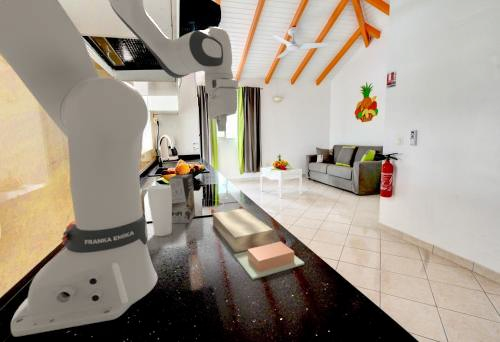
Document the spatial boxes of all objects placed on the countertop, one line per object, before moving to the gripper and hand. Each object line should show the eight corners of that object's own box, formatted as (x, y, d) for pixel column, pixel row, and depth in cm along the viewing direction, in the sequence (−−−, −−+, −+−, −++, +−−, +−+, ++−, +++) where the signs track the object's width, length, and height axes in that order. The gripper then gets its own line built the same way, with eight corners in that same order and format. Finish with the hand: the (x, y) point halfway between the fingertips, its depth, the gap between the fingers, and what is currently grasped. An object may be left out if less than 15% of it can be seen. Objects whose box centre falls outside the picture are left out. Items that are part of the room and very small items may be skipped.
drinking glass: (148, 233, 74) (144, 186, 72) (169, 227, 79) (166, 183, 77) (156, 240, 69) (151, 190, 67) (178, 233, 74) (174, 186, 71)
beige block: (235, 252, 60) (235, 237, 60) (213, 224, 80) (212, 213, 80) (273, 243, 65) (273, 229, 64) (243, 219, 85) (242, 208, 84)
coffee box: (189, 223, 83) (186, 177, 80) (171, 223, 83) (167, 178, 80) (195, 214, 92) (193, 173, 89) (179, 215, 92) (176, 174, 89)
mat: (252, 279, 49) (252, 277, 49) (234, 255, 59) (234, 254, 59) (304, 264, 54) (304, 262, 54) (279, 244, 64) (279, 243, 64)
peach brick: (247, 249, 56) (247, 259, 56) (258, 261, 50) (259, 271, 51) (280, 241, 59) (280, 250, 60) (294, 251, 54) (294, 261, 54)
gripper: (202, 92, 82) (204, 132, 84) (218, 78, 64) (221, 130, 66) (219, 93, 85) (221, 131, 87) (240, 79, 66) (242, 129, 68)
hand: (221, 131), depth 76 cm, fingers closed
